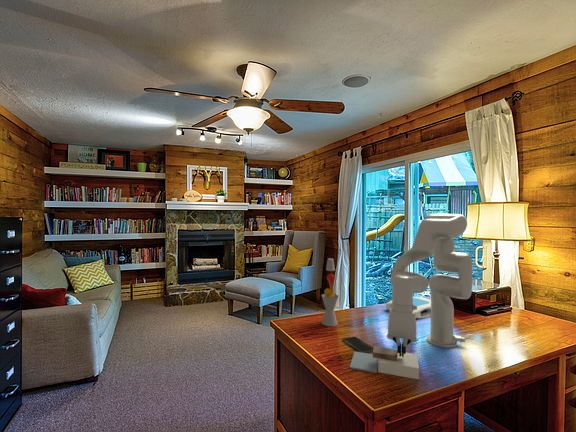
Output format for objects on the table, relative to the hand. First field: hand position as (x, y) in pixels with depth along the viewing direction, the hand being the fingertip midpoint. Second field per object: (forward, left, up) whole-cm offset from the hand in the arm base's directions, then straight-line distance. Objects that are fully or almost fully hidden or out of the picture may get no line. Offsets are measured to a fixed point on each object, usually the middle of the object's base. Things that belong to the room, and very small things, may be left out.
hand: (401, 355), depth 117 cm
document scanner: (-8, -78, -6) cm, 79 cm away
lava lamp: (+36, -38, -6) cm, 53 cm away
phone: (+18, -15, -6) cm, 24 cm away
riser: (+1, 0, -5) cm, 5 cm away
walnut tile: (+6, 0, -1) cm, 6 cm away
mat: (+14, 0, -5) cm, 15 cm away
